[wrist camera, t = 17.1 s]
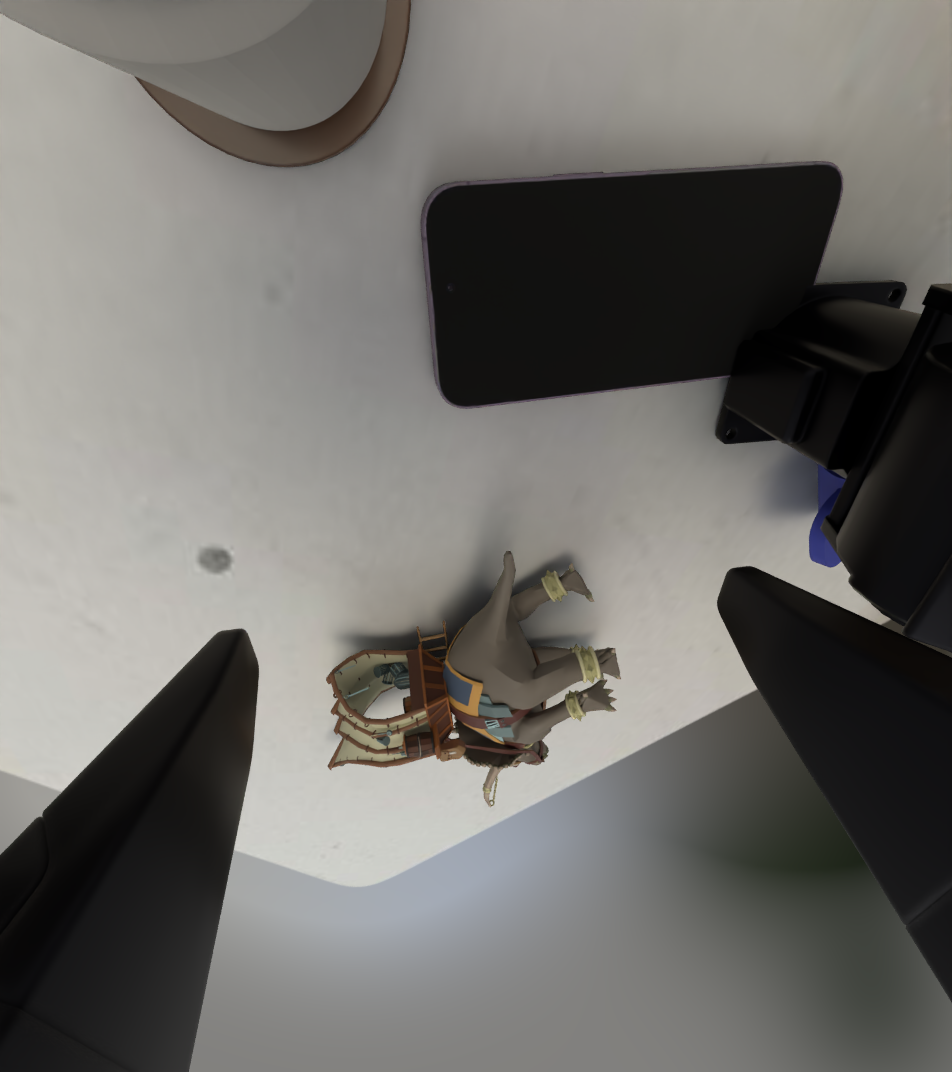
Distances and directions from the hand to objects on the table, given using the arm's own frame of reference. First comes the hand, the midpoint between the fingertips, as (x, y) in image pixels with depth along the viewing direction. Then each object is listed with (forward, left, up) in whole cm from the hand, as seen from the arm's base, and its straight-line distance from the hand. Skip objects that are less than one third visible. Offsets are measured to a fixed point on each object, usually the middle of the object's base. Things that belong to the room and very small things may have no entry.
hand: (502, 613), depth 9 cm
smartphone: (-8, -3, -13) cm, 16 cm away
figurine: (0, +16, -13) cm, 21 cm away
